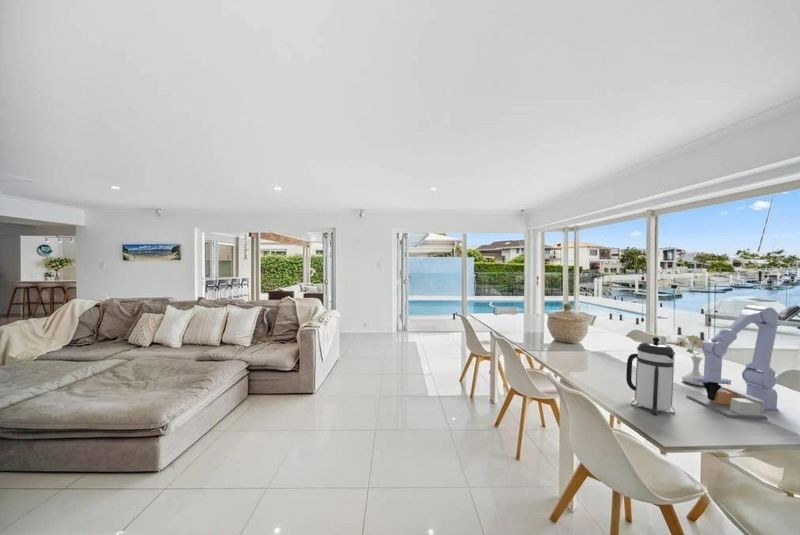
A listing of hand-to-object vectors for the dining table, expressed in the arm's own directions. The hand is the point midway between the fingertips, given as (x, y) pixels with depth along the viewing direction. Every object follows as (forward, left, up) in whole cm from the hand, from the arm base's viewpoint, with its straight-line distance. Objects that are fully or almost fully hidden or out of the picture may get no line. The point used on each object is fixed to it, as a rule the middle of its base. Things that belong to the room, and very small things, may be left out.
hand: (710, 399), depth 157 cm
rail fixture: (-3, +3, -2) cm, 5 cm away
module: (-5, 0, -1) cm, 5 cm away
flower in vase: (-17, -31, -2) cm, 35 cm away
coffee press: (+32, +9, -2) cm, 34 cm away
